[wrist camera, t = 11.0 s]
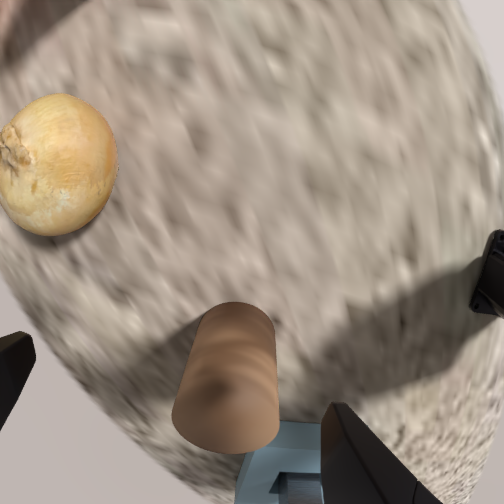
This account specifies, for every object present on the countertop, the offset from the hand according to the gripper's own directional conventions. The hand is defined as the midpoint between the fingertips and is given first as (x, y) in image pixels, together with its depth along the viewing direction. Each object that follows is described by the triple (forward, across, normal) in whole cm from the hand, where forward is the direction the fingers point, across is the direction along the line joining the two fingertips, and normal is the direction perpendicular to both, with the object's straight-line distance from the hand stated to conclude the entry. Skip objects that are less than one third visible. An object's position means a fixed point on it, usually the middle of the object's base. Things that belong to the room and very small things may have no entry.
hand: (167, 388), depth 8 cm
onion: (+12, +10, -4) cm, 16 cm away
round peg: (+12, -2, +6) cm, 14 cm away
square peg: (+12, -10, +20) cm, 25 cm away
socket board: (+12, -10, +20) cm, 25 cm away
